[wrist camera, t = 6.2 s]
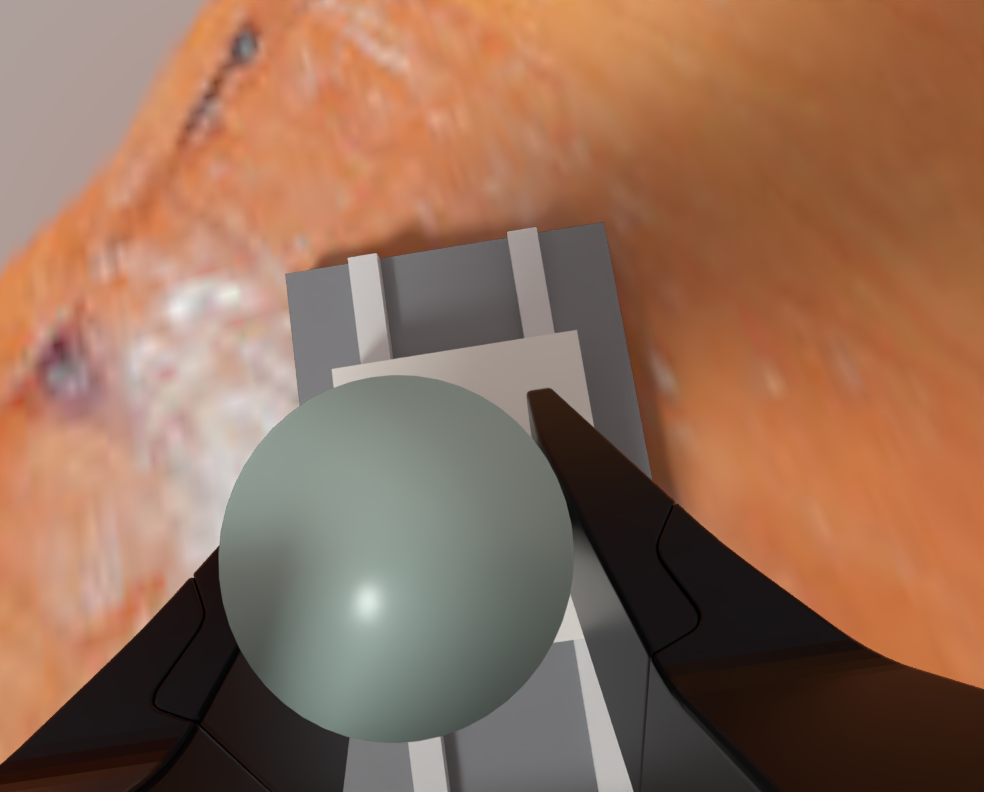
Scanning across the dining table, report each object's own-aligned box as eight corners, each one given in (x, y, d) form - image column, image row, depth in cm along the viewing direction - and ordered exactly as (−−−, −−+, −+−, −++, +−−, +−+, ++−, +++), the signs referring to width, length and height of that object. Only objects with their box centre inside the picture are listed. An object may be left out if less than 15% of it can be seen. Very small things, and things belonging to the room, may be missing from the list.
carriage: (620, 617, 14) (888, 1002, 4) (380, 653, 14) (43, 1111, 4) (572, 341, 15) (688, 80, 5) (346, 376, 15) (4, 196, 5)
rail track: (731, 951, 14) (802, 1109, 11) (378, 998, 14) (335, 1168, 11) (598, 236, 17) (620, 175, 13) (299, 285, 17) (242, 237, 13)
